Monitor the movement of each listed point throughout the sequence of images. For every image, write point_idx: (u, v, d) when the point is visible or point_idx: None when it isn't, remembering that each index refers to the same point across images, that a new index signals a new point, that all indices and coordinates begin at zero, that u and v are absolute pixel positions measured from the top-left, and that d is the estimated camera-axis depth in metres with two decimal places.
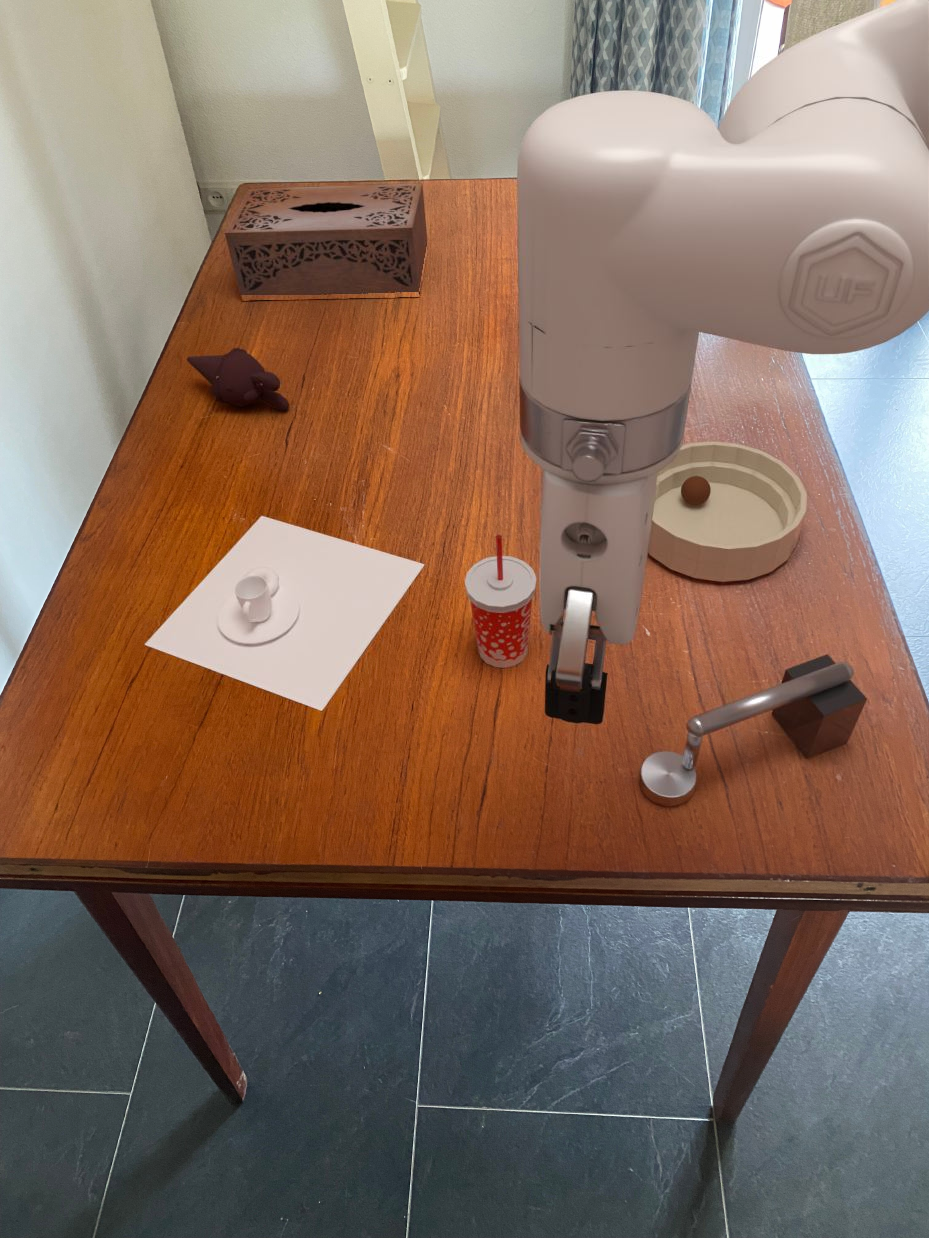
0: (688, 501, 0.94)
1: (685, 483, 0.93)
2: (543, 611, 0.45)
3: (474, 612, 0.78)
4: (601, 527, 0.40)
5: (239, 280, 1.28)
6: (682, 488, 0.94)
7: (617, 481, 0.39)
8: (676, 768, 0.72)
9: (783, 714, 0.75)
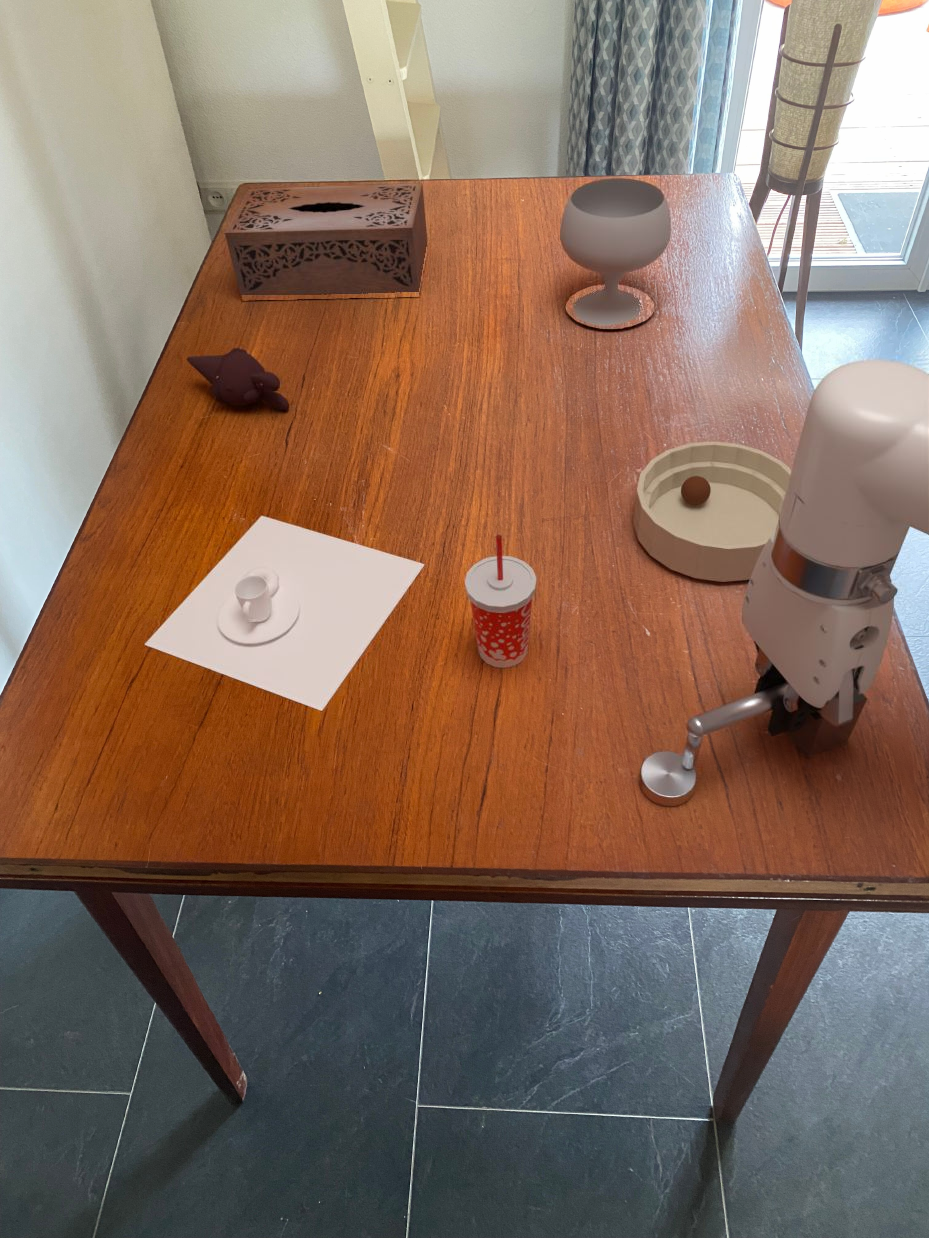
0: (688, 501, 0.94)
1: (685, 483, 0.93)
2: (823, 695, 0.62)
3: (474, 612, 0.78)
4: (877, 625, 0.58)
5: (239, 280, 1.28)
6: (682, 488, 0.94)
7: None
8: (676, 768, 0.72)
9: None
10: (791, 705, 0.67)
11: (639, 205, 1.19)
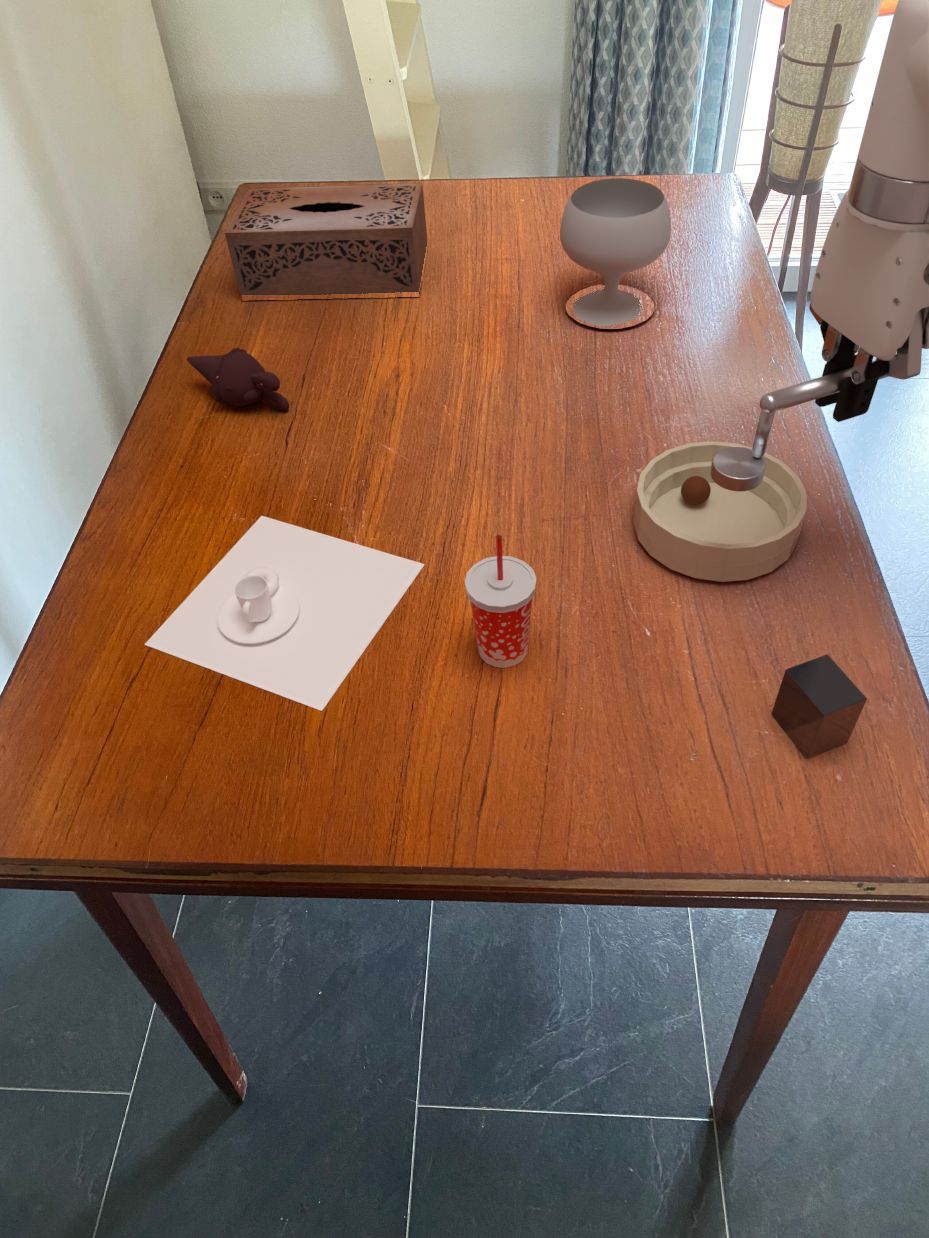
0: (688, 501, 0.94)
1: (685, 483, 0.93)
2: (894, 340, 0.67)
3: (474, 612, 0.78)
4: None
5: (239, 280, 1.28)
6: (682, 488, 0.94)
7: None
8: (746, 458, 0.77)
9: (783, 714, 0.75)
10: (859, 376, 0.72)
11: (639, 205, 1.19)
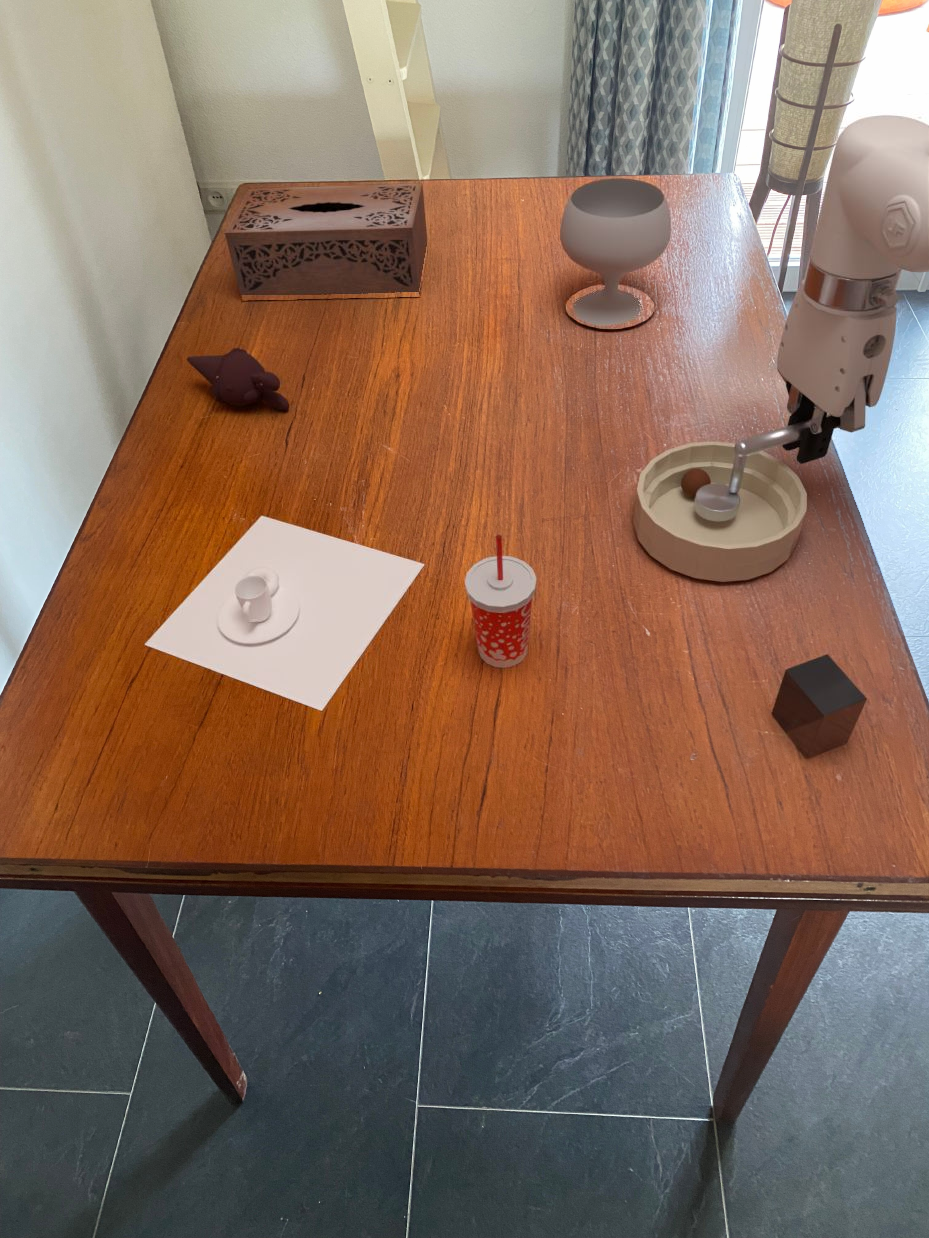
0: (690, 486, 0.94)
1: (685, 473, 0.95)
2: (842, 401, 0.81)
3: (474, 612, 0.78)
4: (884, 334, 0.77)
5: (239, 280, 1.28)
6: (682, 478, 0.95)
7: (885, 308, 0.77)
8: (723, 493, 0.92)
9: (783, 714, 0.75)
10: (816, 427, 0.86)
11: (639, 205, 1.19)
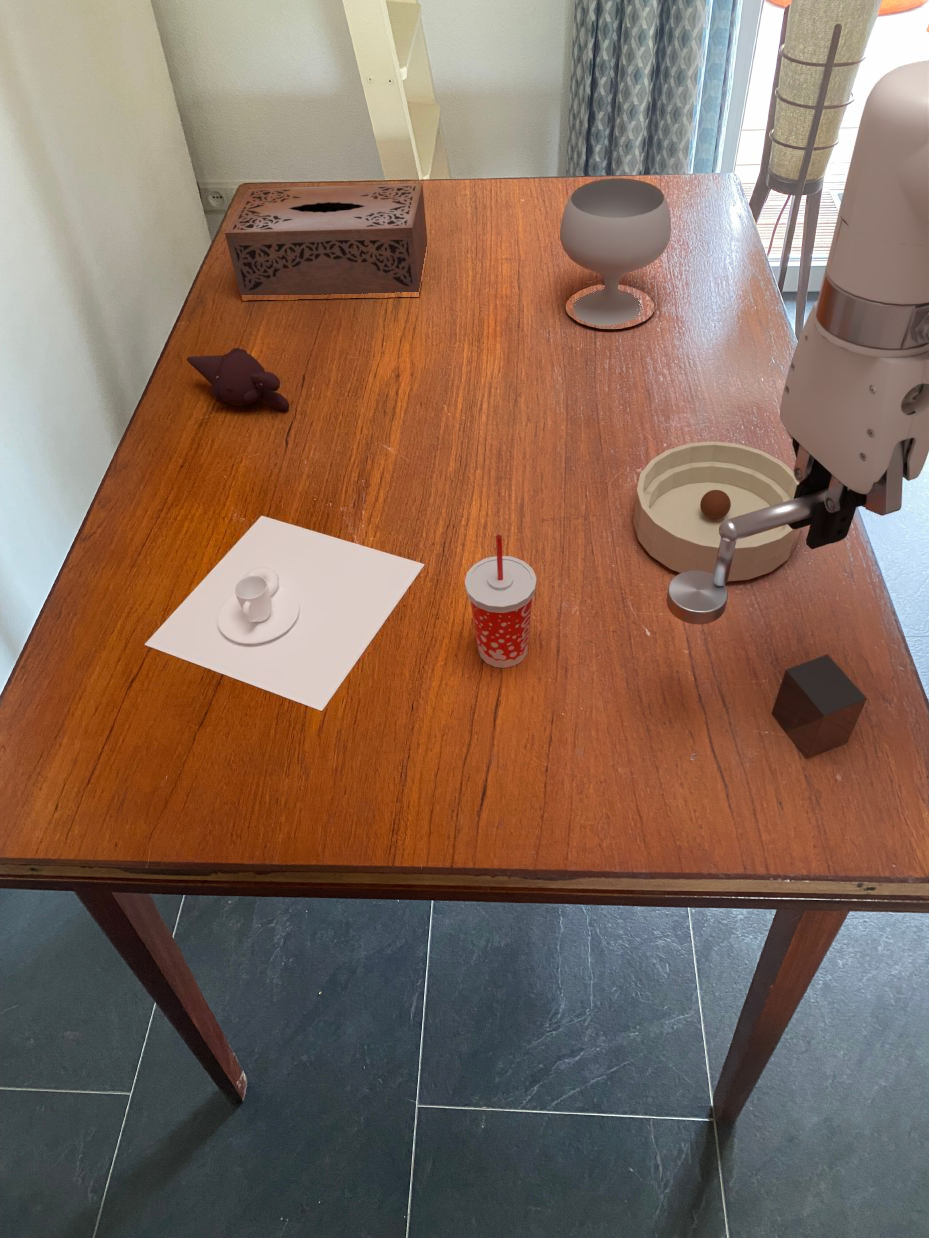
0: (702, 512, 0.93)
1: (716, 514, 0.91)
2: (870, 474, 0.57)
3: (474, 612, 0.78)
4: None
5: (239, 280, 1.28)
6: (710, 512, 0.91)
7: None
8: (706, 585, 0.68)
9: (783, 714, 0.75)
10: (833, 504, 0.63)
11: (639, 205, 1.19)
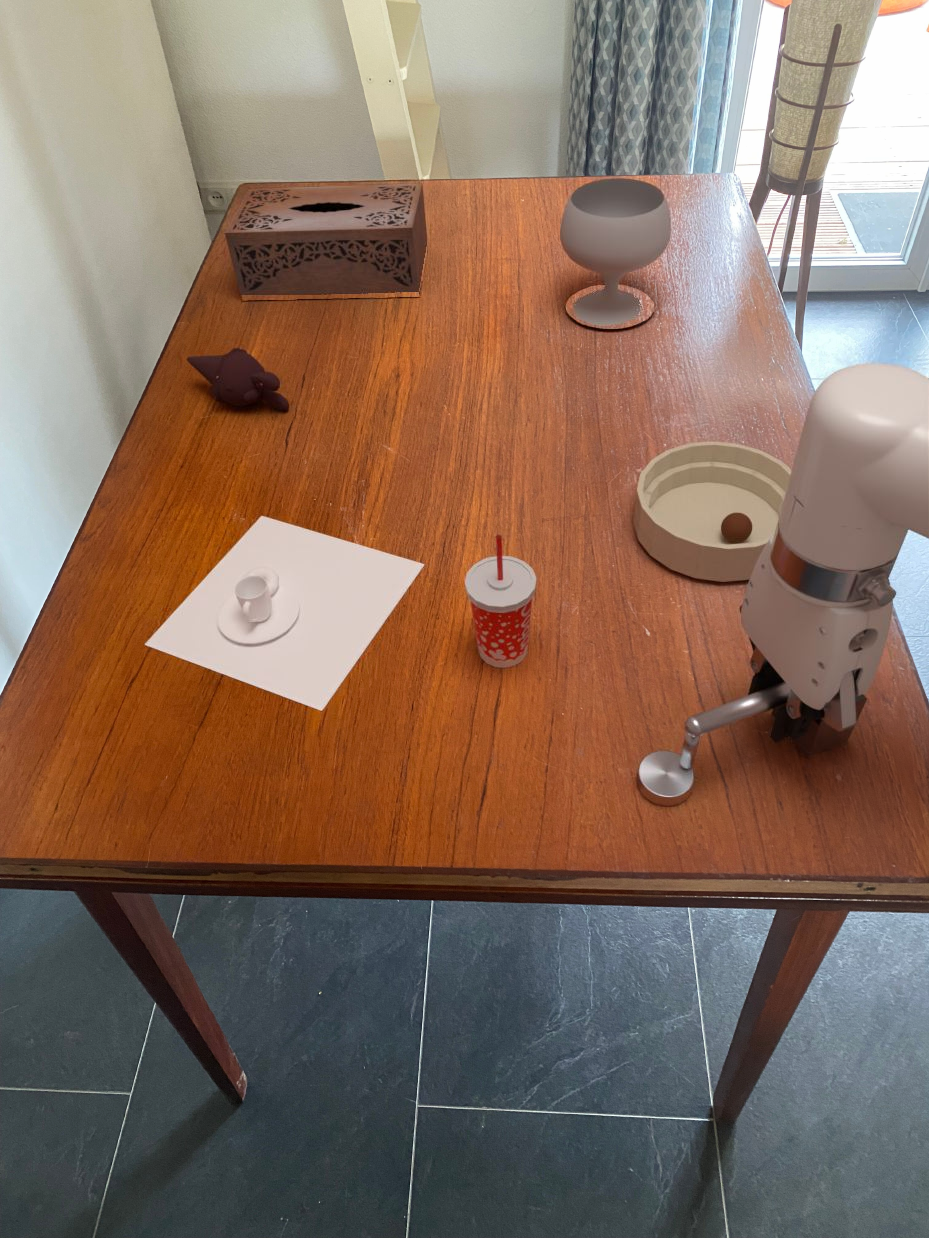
0: (726, 523, 0.89)
1: None
2: (821, 697, 0.62)
3: (474, 612, 0.78)
4: (876, 627, 0.58)
5: (239, 280, 1.28)
6: None
7: None
8: (674, 767, 0.72)
9: None
10: (794, 712, 0.67)
11: (639, 205, 1.19)
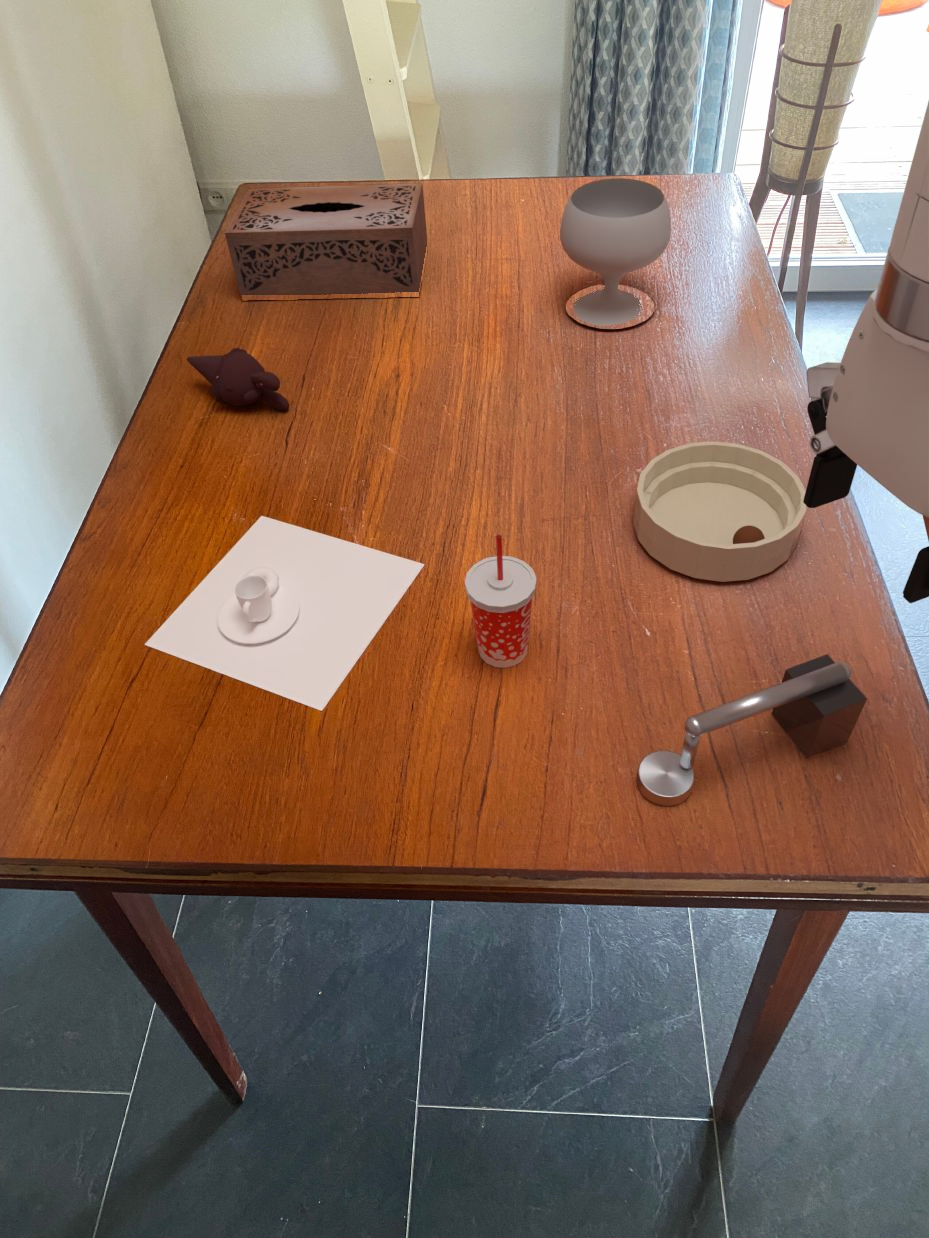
0: None
1: (738, 530, 0.88)
2: None
3: (474, 612, 0.78)
4: None
5: (239, 280, 1.28)
6: (735, 535, 0.88)
7: None
8: (674, 767, 0.72)
9: (783, 714, 0.75)
10: None
11: (639, 205, 1.19)
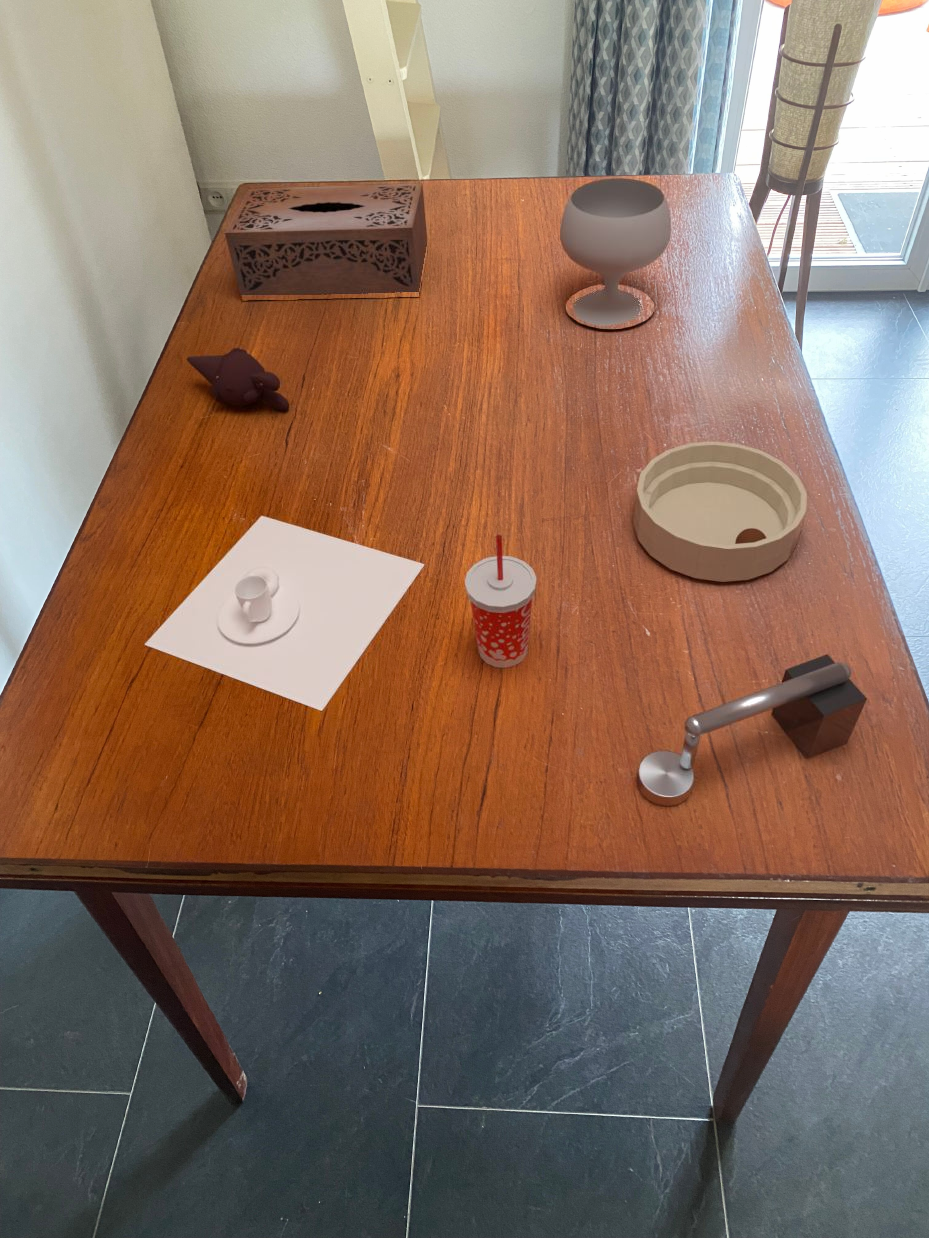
0: None
1: (743, 533, 0.88)
2: None
3: (474, 612, 0.78)
4: None
5: (239, 280, 1.28)
6: (739, 538, 0.88)
7: None
8: (674, 767, 0.72)
9: (783, 714, 0.75)
10: None
11: (639, 205, 1.19)
